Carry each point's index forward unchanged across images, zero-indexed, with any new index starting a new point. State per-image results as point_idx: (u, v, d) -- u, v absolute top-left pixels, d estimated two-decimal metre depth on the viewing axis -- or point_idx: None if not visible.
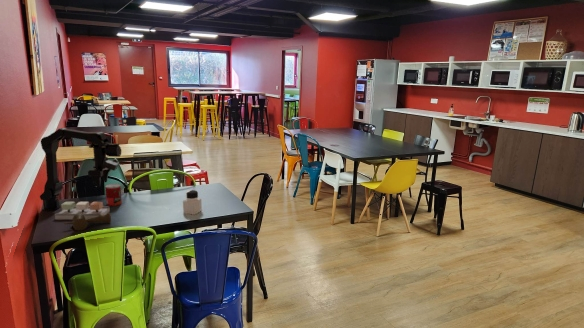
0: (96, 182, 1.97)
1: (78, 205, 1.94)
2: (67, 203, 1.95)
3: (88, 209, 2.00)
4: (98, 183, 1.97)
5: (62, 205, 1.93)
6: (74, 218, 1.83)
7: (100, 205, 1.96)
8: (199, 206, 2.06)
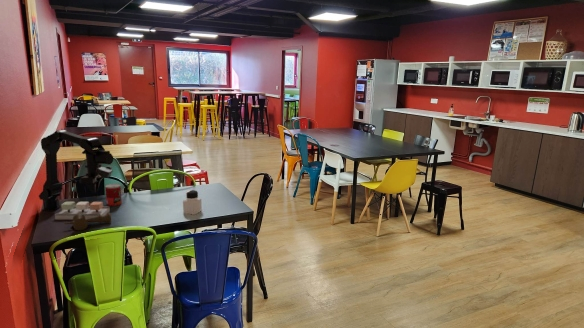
0: (91, 188, 1.92)
1: (78, 205, 1.94)
2: (67, 203, 1.95)
3: (88, 209, 2.00)
4: (93, 189, 1.92)
5: (62, 205, 1.93)
6: (74, 218, 1.83)
7: (100, 205, 1.96)
8: (199, 206, 2.06)
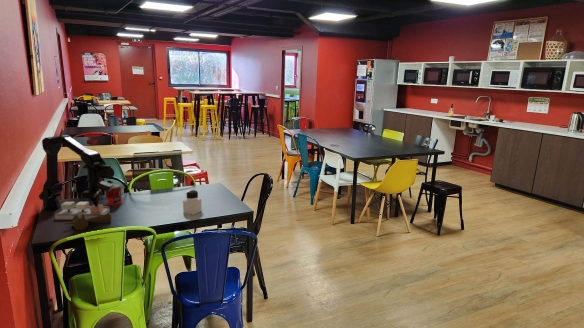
0: (93, 201, 1.95)
1: (78, 205, 1.94)
2: (67, 203, 1.95)
3: (88, 209, 2.00)
4: (96, 202, 1.95)
5: (62, 205, 1.93)
6: (74, 218, 1.83)
7: (100, 208, 1.96)
8: (199, 206, 2.06)
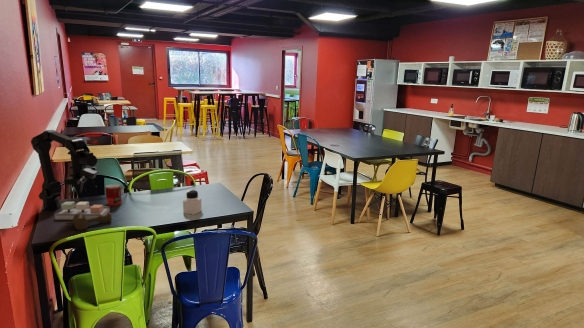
0: (76, 188, 1.93)
1: (78, 205, 1.94)
2: (67, 203, 1.95)
3: (88, 209, 2.00)
4: (79, 189, 1.93)
5: (62, 205, 1.93)
6: (75, 218, 1.83)
7: (100, 208, 1.96)
8: (199, 206, 2.06)
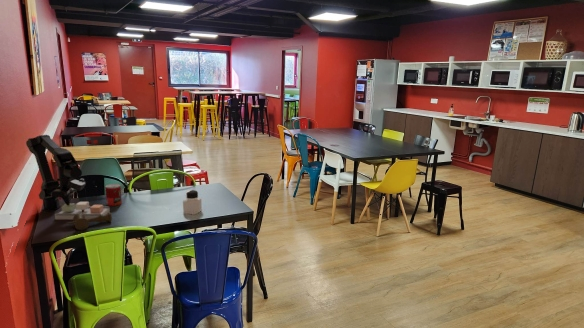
0: (64, 200, 1.94)
1: (78, 205, 1.94)
2: (67, 205, 1.95)
3: (88, 209, 2.00)
4: (67, 201, 1.94)
5: (62, 207, 1.93)
6: (75, 218, 1.83)
7: (100, 208, 1.96)
8: (199, 206, 2.06)
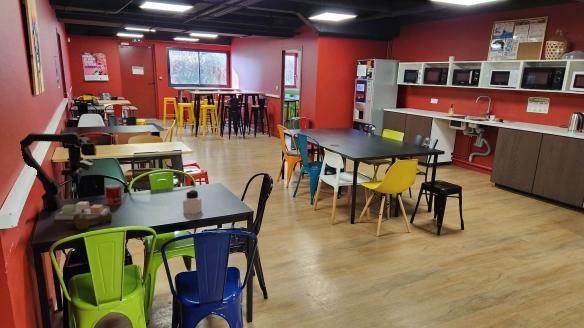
0: (74, 179, 2.05)
1: (78, 205, 1.94)
2: (67, 206, 1.95)
3: (88, 209, 2.00)
4: (76, 180, 2.05)
5: (62, 208, 1.93)
6: (75, 218, 1.83)
7: (100, 208, 1.96)
8: (199, 206, 2.06)
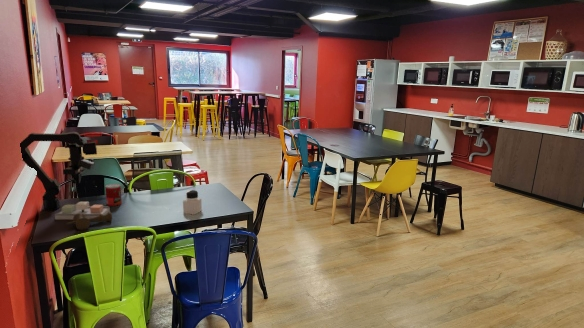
0: (75, 179, 2.07)
1: (78, 205, 1.94)
2: (67, 206, 1.95)
3: (88, 209, 2.00)
4: (78, 179, 2.07)
5: (62, 208, 1.93)
6: (75, 218, 1.83)
7: (100, 208, 1.96)
8: (199, 206, 2.06)
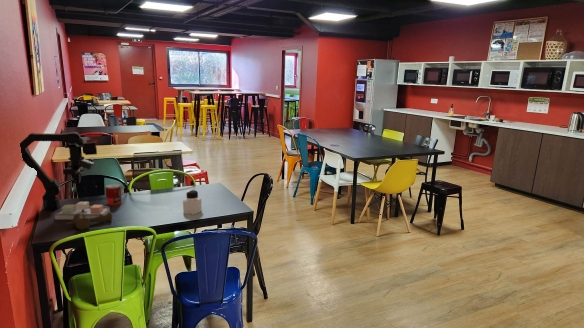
0: (75, 179, 2.07)
1: (78, 205, 1.94)
2: (67, 206, 1.95)
3: (88, 209, 2.00)
4: (78, 179, 2.07)
5: (62, 208, 1.93)
6: (75, 218, 1.83)
7: (100, 208, 1.96)
8: (199, 206, 2.06)
